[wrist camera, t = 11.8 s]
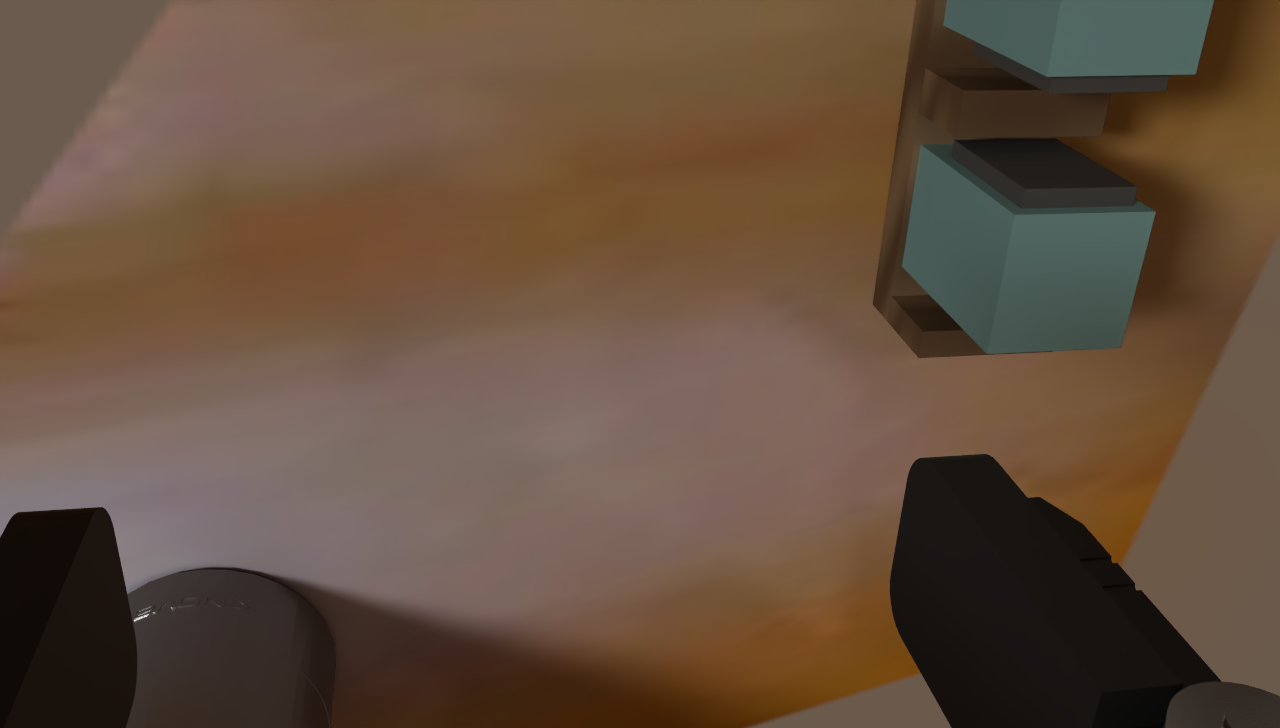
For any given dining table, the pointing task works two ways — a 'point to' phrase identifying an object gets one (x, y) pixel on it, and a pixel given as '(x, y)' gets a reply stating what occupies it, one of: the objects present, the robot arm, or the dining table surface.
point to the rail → (939, 114)
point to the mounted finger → (1026, 243)
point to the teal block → (1086, 41)
